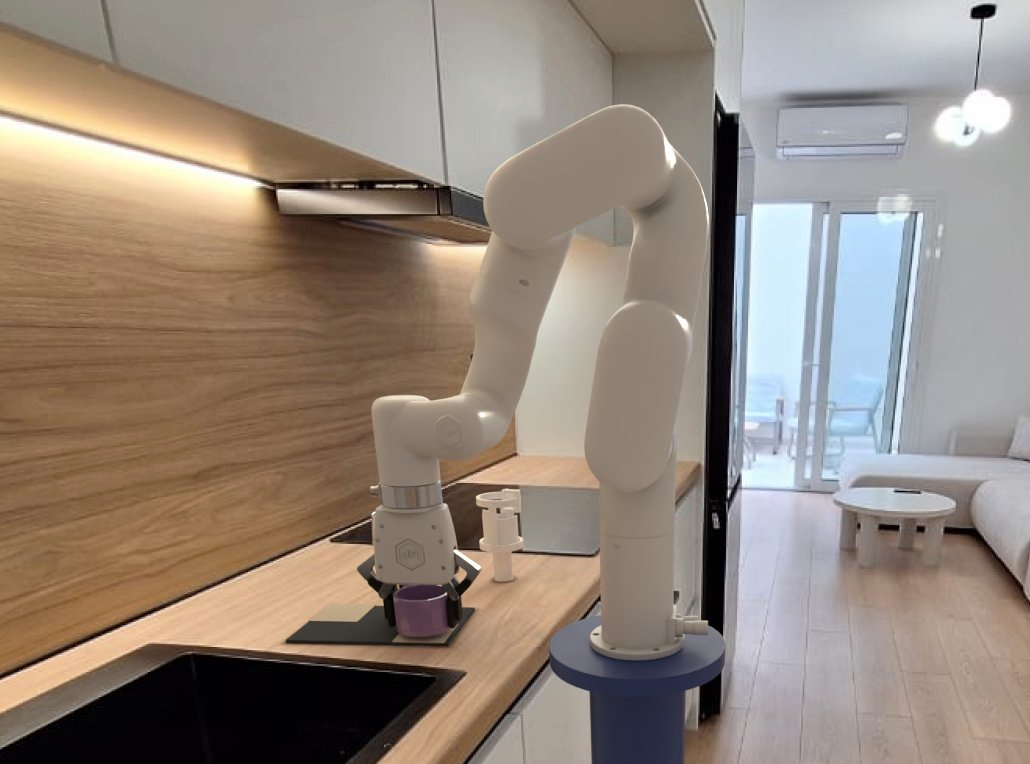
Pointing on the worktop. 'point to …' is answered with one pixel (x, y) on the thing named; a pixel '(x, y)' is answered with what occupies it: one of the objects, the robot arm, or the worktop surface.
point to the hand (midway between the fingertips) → (424, 623)
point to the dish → (421, 610)
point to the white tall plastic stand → (501, 529)
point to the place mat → (365, 628)
